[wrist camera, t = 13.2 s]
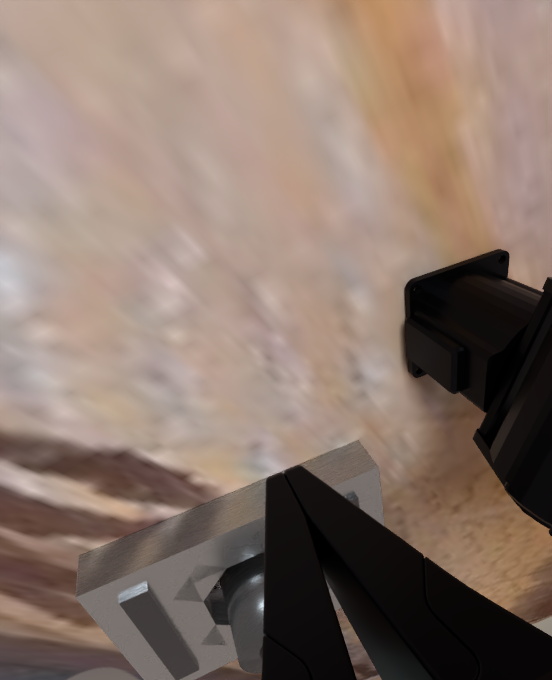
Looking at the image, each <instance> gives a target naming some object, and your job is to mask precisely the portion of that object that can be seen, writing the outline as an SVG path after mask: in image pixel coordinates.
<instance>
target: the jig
mask: <svg viewBox="0 0 552 680" xmlns="http://www.w3.org/2000/svg"><path fill="white" fill-rule="evenodd" d="M300 465H301V466H303V467H304V468H306V469H307V470H308V471H310V472H311V473H312V474H314V475H315V476H317V477H318V478H319V479H321V480H322V481H323V482H325V483H326V484H327V485H329V486H330V487H332V488H333V489H334V490H336V491H337V492H338V493H340V494H341V495H342V496H344V497H345V498H347V499H348V500H349V501H351V502H352V503H353V504H355V505H356V506H357V507H359V508H360V509H362V510H363V511H364V512H366V513H367V514H368V515H370V516H371V517H372V518H374V519H375V520H377V521H378V522H379V523H381V524H382V525H383V526H385V525H384V515H383V505H382V495H381V485H380V475H379V467H378V465H377V464H376V463H375V461H374V460H373V459H372V457H371V456H370V455H369V453H368V452H367V451H366V449H365V448H364V447H363V445H362V444H361V443H360V441H359V440H358V441H356V442H353V443H351V444H348V445H346V446H344V447H341V448H339V449H336V450H334V451H332V452H329V453H327V454H324V455H322V456H319V457H317V458H315V459H312V460H310V461H307V462H305V463H303V464H300ZM284 472H285V471H283V472H281V473H283V474H284ZM266 479H267V478H266ZM266 479H264V480H261V481H259V482H257V483H254V484H252V485H249V486H247V487H245V488H242V489H240V490H237V491H235V492H232V493H230V494H228V495H225V496H223V497H220V498H218V499H216V500H213V501H211V502H208V503H206V504H203V505H201V506H199V507H196V508H194V509H191V510H189V511H187V512H184V513H182V514H179V515H177V516H174V517H172V518H170V519H167V520H165V521H162V522H160V523H158V524H155V525H153V526H150V527H148V528H145V529H143V530H141V531H138V532H136V533H133V534H131V535H129V536H126V537H124V538H121V539H119V540H116V541H114V542H112V543H109V544H107V545H104V546H102V547H100V548H97V549H95V550H92V551H90V552H87V553H85V554H83V555H80V556H79V561H78V573H77V586H76V599H77V600H78V601H79V602H80V603H81V605H82V606H83V607H84V608H85V609H86V611H87V612H88V613H89V614H90V616H91V617H92V618H93V619H94V620H95V622H96V623H97V624H98V625H99V626H100V628H101V629H102V630H103V631H104V632H105V634H106V635H107V636H108V637H109V638H110V640H111V641H112V642H113V643H114V644H115V646H116V647H117V648H118V649H119V650H120V652H121V653H122V654H123V655H124V656H125V658H126V659H127V660H128V661H129V662H130V664H131V665H132V666H133V667H134V668H135V670H136V671H137V672H138V673H139V674H140V676H141V677H142V678H143V679H144V680H195V679H197V678H199V677H201V676H203V675H205V674H207V673H209V672H211V671H213V670H215V669H217V668H219V667H221V666H223V665H225V664H228V663H230V662H232V661H234V660H236V659H238V656H237V652H236V648H235V644H234V640H233V635H232V631H231V627H230V623H229V619H228V614H227V610H226V606H225V602H224V598H223V593H222V590H220V589H212V588H213V587H214V586H215V584H216V583H217V581H218V580H219V578H220V577H221V576H222V574H223V573H224V571H225V570H226V569H227V568H229V567H231V566H233V565H235V564H238V563H240V562H242V561H244V560H246V559H249V558H251V557H253V556H255V555H258V554H260V553H262V552H264V551H265V495H266ZM326 583H327V586H328V589H329V592H330V595H331V599H332V602H333V605H334V608H335V610H338V609H340V608H342V607H341V606H340V604H339V602H338V600H337V598H336V597H335V595H334V593H333V591H332V589H331V588H330V586H329V584H328V582H327V581H326Z"/></svg>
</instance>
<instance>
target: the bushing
mask: <svg viewBox="0 0 552 680" xmlns="http://www.w3.org/2000/svg"><path fill="white" fill-rule="evenodd" d="M264 552H265V551H264ZM264 552H262V553H260V554H258V555H255V556H253V557H251V558H249V559H246V560H244V561H242V562H240V563H238V564H235V565H233V566H231V567H229V568H227V569H226V570H225V571H224V573H223V574H222V576H221V577H220V578H219V581H220V585H221V589H222V593H223V598H224V602H225V606H226V610H227V614H228V619H229V623H230V627H231V631H232V635H233V640H234V644H235V648H236V652H237V656H238V661H239V664H240V667H241V668H242V669H243V670H245V671H247V672H250V673H262V651H263V636H264V634H263V609H264Z"/></svg>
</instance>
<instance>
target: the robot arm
mask: <svg viewBox="0 0 552 680" xmlns="http://www.w3.org/2000/svg"><path fill="white" fill-rule="evenodd" d="M499 258H500V259H499ZM508 267H509V253H508V252H507V251H504V250H501V249H497V250H494V251H491V252H488V253H486V254H483V255H480V256H477V257H474V258H471V259H468V260H465V261H462V262H459V263H457V264H454V265H451V266H448V267H445V268H442V269H439V270H436V271H433V272H430V273H427V274H425V275H422V276H419V277H416V278H413V279H411V280H410V281H409V282H408V283H407V285H406V288H405V296H406V321H405V332H406V355H407V358H408V370H409V373H410V374H411V375H412V376H414V377H415V378H418V377H421V376H424V375H426V374H428V375H429V376H431V377H432V378H433V379H434V380H436V381H437V382H438V383H439V384H440V385H442V386H443V387H444V388H445V389H447V390H448V391H449V392H451V393H453V394H456V393H459V392H460V393H461V394H462V395H463V396H465V397H466V398H467V399H468V400H470V401H471V402H472V403H473V404H475V405H476V406H477V407H478V408H480V409H481V410H482V411H483V412H485V413H486V416H485V418H484V420H483V422H482V424H481V426H480V428H479V429H477V430H476V432H475V434H474V437H473V440H474V441H475V443H476V445H477V446H478V448H479V449H480V451H481V452H482V454H483V455H484V457H485V458H486V460H487V461H488V463H489V464H490V466H491V467H492V469H493V470H494V472H495V474H496V475H497V477H498V478H499V480H500V481H501V483H502V484H503V486H504V488H505V490H506V492H507V493H508V495H509V496H510V497H511V498H512V499H513V500H514V502H515V503H516V504H517V505H518V506H519V507H520V508H521V510H522V511H523V512H524V513H526V514H527V515H529V516H530V517H532V518H533V519H534V520H536V521H537V522H539V523H540V524H542V525H544V526H545V527H547V528H549V529H550V530H549V534H550V535H551V536H552V277H548V278H547V280H546V282H545V284H544V286H543V288H542V289H543V290H544V292H541V291H539V290H536V289H534V288H532V287H529V286H527V285H524V284H522V283H519V282H517V281H514V280H512V279H509V278H507V277H508ZM415 286H417V288H416V290H414V288H415ZM413 290H414V291H413ZM417 368H418V370H417ZM326 581H327V582H328V584H329V586H330V588H331V589H332V591H333V593H334V595H335V597H336V598H337V600H338V602H339V604H340V606H341V607H342V609H343V611H344V613H345V614H346V616H347V618H348V620H349V622H350V623H351V625H352V627H353V629H354V631H355V632H356V634H357V636H358V638H359V639H360V641H361V643H362V645H363V647H364V648H365V650H366V652H367V654H368V655H369V657H370V659H371V661H372V663H373V664H374V666H375V668H376V670H377V672H378V673H379V675H380V677H381V679H382V680H552V637H551V636H550V635H548V634H547V633H545V632H543V631H541V630H540V629H538V628H536V627H534V626H533V625H531V624H530V623H528V622H526V621H524V620H523V619H521V618H519V617H518V616H516V615H514V614H513V613H511V612H509V611H507V610H506V609H504V608H502V607H501V606H499V605H497V604H496V603H494V602H492V601H491V600H489V599H488V598H486V597H484V596H483V595H481V594H479V593H478V592H476V591H475V590H473V589H471V588H470V587H468V586H467V585H465V584H464V583H462V582H461V581H459V580H458V579H457V578H455V577H454V576H452V575H451V574H449V573H448V572H446V571H445V570H444V569H442V568H441V567H439V566H438V565H437V564H435V563H434V562H433V561H431V560H430V559H429V558H427V557H425V558H424V556H423V554H421V553H420V552H419V551H417V550H416V549H415V548H413V547H412V546H411V545H409V544H408V543H406V542H405V541H404V540H402V539H401V538H400V537H398V536H397V535H396V534H394V533H393V532H392V531H390V530H389V529H387V528H386V527H385V526H383V525H382V524H381V523H379V522H378V521H377V520H375V519H374V518H372V517H371V516H370V515H368V514H367V513H366V512H364V511H363V510H362V509H360V508H359V507H357V506H356V505H355V504H353V503H352V502H351V501H349V500H348V499H347V498H345V497H344V496H342V495H341V494H340V493H338V492H337V491H336V490H334V489H333V488H332V487H330V486H329V485H327V484H326V483H325V482H323V481H322V480H321V479H319V478H318V477H317V476H315V475H314V474H312V473H311V472H310V471H308V470H307V469H306V468H304V467H303V466H301V465H297V466H294V467H292V468H290V469H287V470H285V472H284V474H283V473H281V472H280V473H277V474H275V475H273V476H270V477H268V478H267V479H266V495H265V552H264V609H263V634H264V636H263V651H262V677H261V680H357V679H356V676H355V673H354V670H353V666H352V663H351V660H350V657H349V653H348V650H347V647H346V644H345V641H344V637H343V634H342V631H341V628H340V624H339V621H338V618H337V615H336V612H335V608H334V605H333V602H332V599H331V595H330V592H329V589H328V586H327V583H326Z"/></svg>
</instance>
